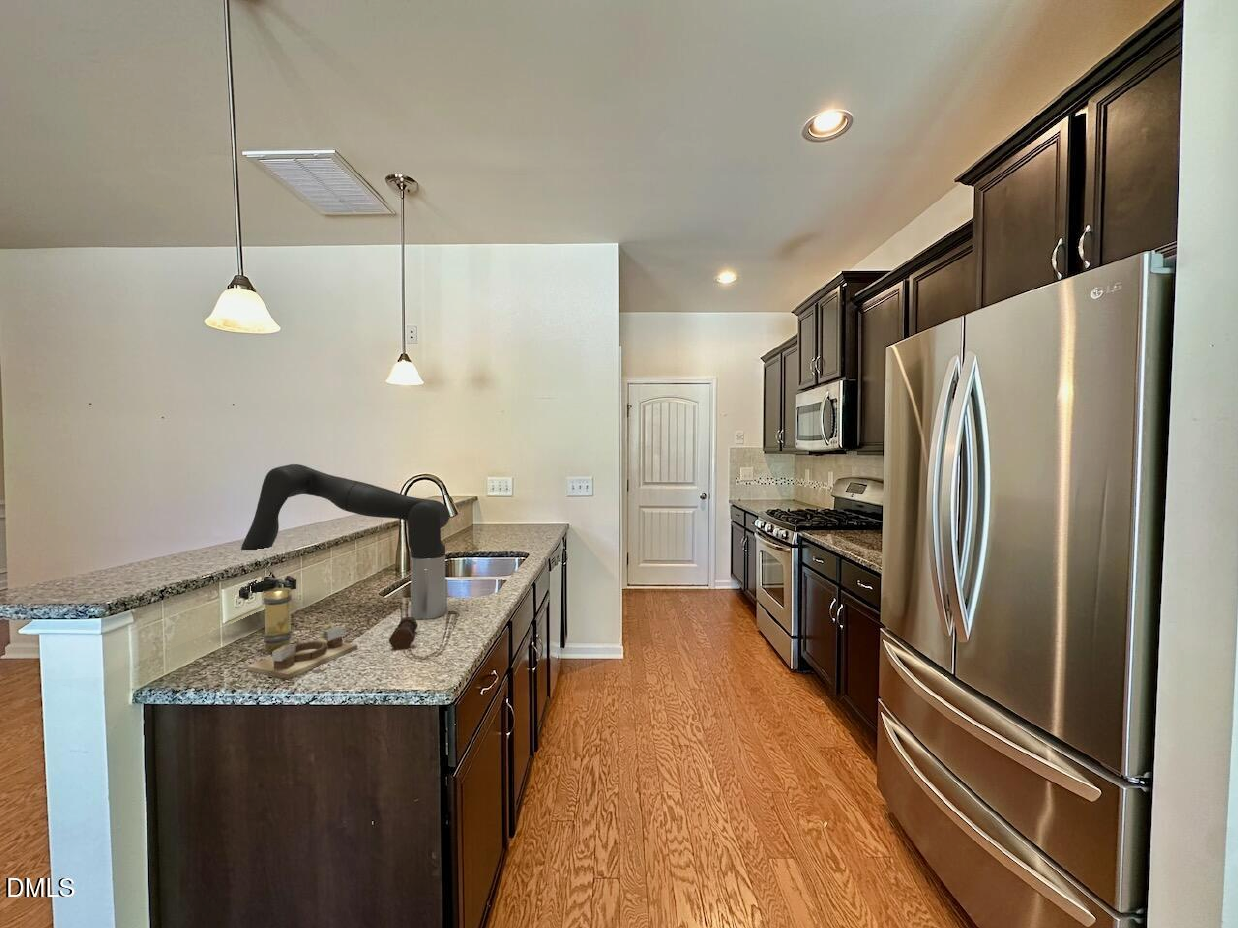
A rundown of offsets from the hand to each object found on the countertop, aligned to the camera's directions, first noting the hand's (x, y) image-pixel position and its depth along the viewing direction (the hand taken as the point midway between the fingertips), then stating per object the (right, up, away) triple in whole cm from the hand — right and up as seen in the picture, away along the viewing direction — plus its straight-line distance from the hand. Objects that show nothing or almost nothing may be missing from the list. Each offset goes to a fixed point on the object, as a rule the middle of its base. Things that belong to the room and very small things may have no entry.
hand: (268, 592), depth 122 cm
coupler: (+7, -12, -7) cm, 15 cm away
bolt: (+35, -12, +1) cm, 37 cm away
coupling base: (+18, -12, -13) cm, 25 cm away
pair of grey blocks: (+19, -9, -13) cm, 25 cm away
